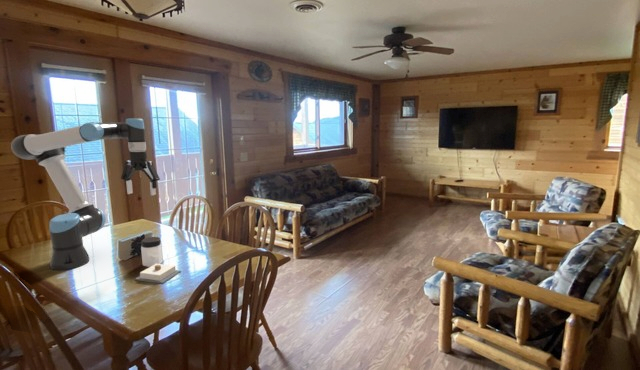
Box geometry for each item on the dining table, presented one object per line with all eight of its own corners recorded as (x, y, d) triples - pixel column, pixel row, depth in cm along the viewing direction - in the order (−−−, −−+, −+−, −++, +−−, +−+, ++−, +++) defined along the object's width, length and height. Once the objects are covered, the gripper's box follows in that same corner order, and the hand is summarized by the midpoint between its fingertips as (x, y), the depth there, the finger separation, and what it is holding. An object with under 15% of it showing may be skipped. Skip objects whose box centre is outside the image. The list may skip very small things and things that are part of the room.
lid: (140, 278, 149) (139, 269, 148) (156, 268, 158) (156, 260, 157) (160, 280, 146) (159, 271, 145) (175, 271, 156) (174, 262, 155)
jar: (143, 268, 160) (141, 243, 158) (141, 262, 166) (139, 238, 164) (164, 264, 165) (162, 240, 162) (161, 258, 171) (159, 235, 169)
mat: (135, 280, 148) (134, 278, 148) (154, 268, 160) (154, 267, 159) (163, 283, 145) (163, 282, 145) (181, 271, 156) (181, 270, 156)
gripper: (109, 151, 165) (114, 194, 169) (154, 152, 159) (158, 197, 163) (122, 149, 173) (126, 191, 176) (165, 150, 167) (168, 194, 170)
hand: (141, 194), depth 170 cm, fingers open, 13 cm apart
